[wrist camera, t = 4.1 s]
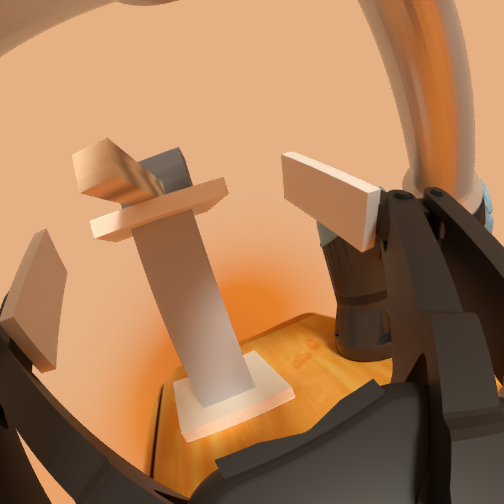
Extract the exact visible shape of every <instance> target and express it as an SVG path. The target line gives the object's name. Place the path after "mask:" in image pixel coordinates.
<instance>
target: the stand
mask: <svg viewBox="0 0 504 504" xmlns="http://www.w3.org/2000/svg"><path fill="white" fill-rule="evenodd" d="M228 194H229V192H228V189H227V186H226V183H225V180H224V178H219V179H216V180H212V181H209V182H205V183H202V184H199V185H195V186H191V187H188V188H185V189H181V190H178V191H175V192H172V193H169V194H165V195H162V196H159V197H156V198H153V199H150V200H147V201H144V202H141V203H138V204H135V205H132V206H130V207H127V208H124V209H121V210H118V211H116V212H113V213H110V214H108V215H105V216H102V217H99V218H97V219H94V220H92V221H90V224H91V228H92V231H93V235H94V238H95V239H101V240H106V241H113V242H118V241H121V240H124V239H127V238H130V237H132V236H133V237H134V240H135V243H136V246H137V249H138V253H139V255H140V258H141V262H142V264H143V267H144V270H145V273H146V276H147V279H148V281H149V284H150V287H151V290H152V292H153V295H154V298H155V300H156V303H157V306H158V308H159V311H160V313H161V316H162V318H163V321H164V323H165V326H166V328H167V330H168V333H169V335H170V337H171V340H172V342H173V344H174V347H175V349H176V351H177V353H178V356H179V358H180V360H181V362H182V365H183V367H184V369H185V371H186V373H187V375H188V377H186V378H183V379H181V380H178V381H175V382H173V386H174V393H175V400H176V407H177V413H178V419H179V425H180V430H181V434H182V435H183V437H184V439H185V440H186V442H187V443H189V442H192V441H195V440H197V439H200V438H203V437H206V436H209V435H212V434H214V433H217V432H220V431H222V430H225V429H227V428H230V427H232V426H235V425H237V424H240V423H242V422H244V421H247V420H249V419H251V418H254V417H256V416H258V415H261V414H263V413H265V412H267V411H269V410H271V409H274V408H276V407H278V406H280V405H282V404H284V403H286V402H288V401H290V400H292V399H294V398H296V397H295V394H294V391H293V388H292V386H291V385H290V384H288V383H287V382H286V381H285V380H284V379H283V378H282V377H281V376H280V375H279V374H278V373H277V372H276V371H275V370H274V369H273V368H272V367H271V366H270V365H269V364H268V363H267V362H266V361H265V360H264V359H263V358H262V357H261V356H260V355H259V354H258V353H257V352H256V351H255V350H254V351H252V352H249V353H247V354H245V355H243V354H242V351H241V349H240V346H239V343H238V341H237V338H236V336H235V333H234V330H233V327H232V325H231V322H230V319H229V317H228V314H227V311H226V308H225V305H224V303H223V300H222V297H221V294H220V291H219V289H218V286H217V283H216V280H215V278H214V274H213V271H212V269H211V266H210V263H209V260H208V257H207V254H206V251H205V248H204V245H203V242H202V239H201V236H200V233H199V229H198V226H197V223H196V220H195V217H194V216H195V215H198V214H201V213H204V212H207V211H208V210H210V209H211V208H212V207H213V206H214V205H216V204H217V203H218V202H219V201H220V200H222V199H223V198H224V197H225V196H227V195H228Z"/></svg>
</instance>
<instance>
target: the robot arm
mask: <svg viewBox="0 0 504 504" xmlns="http://www.w3.org/2000/svg"><path fill="white" fill-rule="evenodd" d="M116 1H117V2H120V3H124V4H130V5H140V6H149V5H159V4H165V3H169V2H173V1H177V0H0V57H2V56H3V55H5V54H6V53H8V52H9V51H11V50H12V49H14V48H16V47H17V46H19V45H20V44H22V43H24V42H26V41H27V40H29V39H31V38H33V37H34V36H36V35H38V34H40V33H42V32H43V31H46V30H47V29H50V28H52V27H53V26H56V25H58V24H60V23H62V22H64V21H66V20H69V19H71V18H73V17H75V16H78V15H80V14H83V13H85V12H88V11H90V10H93V9H96V8H98V7H101V6H104V5H107V4H110V3H113V2H116ZM358 2H359V4H360V6H361V8H362V10H363V13H364V15H365V17H366V19H367V22H368V24H369V26H370V29H371V31H372V34H373V36H374V38H375V41H376V44H377V46H378V49H379V52H380V54H381V57H382V60H383V63H384V65H385V69H386V72H387V75H388V78H389V81H390V84H391V88H392V91H393V94H394V98H395V101H396V105H397V109H398V113H399V117H400V121H401V125H402V129H403V134H404V138H405V143H406V148H407V153H408V158H409V164H410V168H409V169H408V171H407V172H406V174H405V176H404V179H403V183H402V185H403V190H391V191H389V192H386V191H385V190H384V189H383V188H382V187H378V188H377V187H375V186H373V185H371V184H369V183H367V182H364V181H362V180H360V179H358V178H356V177H354V176H351V175H349V174H347V173H344V172H342V171H339V170H338V169H335V168H333V167H330V166H328V165H326V164H323V163H321V162H318V161H316V160H313V159H311V158H308V157H306V156H303V155H300V154H298V153H295V152H288V153H284V154H281V158H282V171H283V184H284V198H285V199H286V200H288V201H289V202H291V203H292V204H294V205H295V206H297V207H298V208H300V209H301V210H303V211H304V212H305V213H307V214H308V215H310V216H311V217H313V218H314V219H316V220H317V229H318V233H319V237H320V242H321V243H320V246H321V247H322V249H323V252H324V256H325V260H326V263H327V267H328V270H329V274H330V278H331V281H332V285H333V289H334V293H335V296H336V301H337V314H336V324H335V333H334V338H335V343H336V347H337V350H338V352H339V353H340V354H341V355H342V356H344V357H345V358H348V359H351V360H355V361H377V360H383V359H387V358H390V357H392V361H393V373H392V378H391V383H390V384H386V385H382V386H379V385H378V383H377V382H376V381H375V380H374V379H372V380H371V381H369V382H368V383H366V384H365V385H363V386H362V387H360V388H359V389H357V390H356V391H354V392H353V393H351V394H349V395H348V396H346V397H345V398H343V399H341V400H340V401H339V402H338V403H337V404H336V405H335V406H334V407H333V408H332V409H331V410H330V411H329V412H328V413H327V414H326V415H325V416H324V417H323V418H322V419H321V420H320V421H319V422H318V423H317V424H315V425H314V426H313V427H312V428H311V429H310V430H308V431H307V432H305V433H301V434H297V435H293V436H289V437H285V438H281V439H276V440H271V441H267V442H261V443H257V444H255V445H252V446H250V447H248V448H245V449H243V450H240V451H238V452H235V453H233V454H230V455H228V456H225V457H222V458H219V459H217V460H215V462H216V464H217V466H218V468H219V469H217V470H216V471H214V472H213V473H212V474H210V475H209V476H208V477H207V478H206V479H204V481H203V482H202V483H201V484H200V485H199V486H198V487H197V488H196V490H195V491H194V493H193V494H192V496H191V498H190V499H189V498H187V497H185V496H183V495H181V494H179V493H177V492H175V491H173V490H171V489H169V488H167V487H165V486H164V485H162V484H160V483H158V482H157V481H155V480H154V479H152V478H151V477H149V476H147V475H146V474H144V473H143V472H141V471H140V470H139V469H137V468H136V467H134V466H133V465H131V464H130V463H129V462H127V461H126V460H125V459H123V458H122V457H120V456H119V455H118V454H116V453H115V452H114V451H113V450H111V449H110V448H109V447H108V446H107V445H105V444H104V443H103V442H102V441H100V440H99V439H98V438H97V437H96V436H95V435H93V434H92V433H91V432H90V431H89V430H88V429H87V428H86V427H84V426H83V425H82V424H81V423H80V422H79V421H78V420H77V419H76V418H75V417H73V416H72V414H70V413H69V412H68V410H67V409H65V407H64V406H63V405H62V404H61V403H59V401H58V400H57V399H56V398H55V397H54V396H53V395H52V394H51V393H50V392H49V391H48V389H47V388H46V387H45V386H44V385H43V384H42V383H41V382H40V380H39V379H38V378H37V377H36V376H35V375H34V374H33V373H32V365H34V366H35V367H36V368H37V369H38V370H39V371H40V372H41V373H44V372H47V371H51V370H54V369H56V357H57V344H58V333H59V323H60V315H61V307H62V300H63V294H64V288H65V282H66V276H67V271H66V269H65V267H64V265H63V263H62V261H61V259H60V257H59V255H58V253H57V251H56V249H55V247H54V244H53V242H52V240H51V238H50V236H49V234H48V231H47V229H44V230H42V231H40V232H38V233H35V234H34V237H33V238H32V240H31V242H30V244H29V247H28V249H27V251H26V253H25V255H24V257H23V259H22V262H21V264H20V266H19V269H18V271H17V273H16V275H15V278H14V281H13V283H12V285H11V288H10V291H9V292H8V294H7V295H6V296H5V298H4V300H3V303H2V306H1V308H0V504H52V503H51V501H50V500H49V498H48V496H47V495H46V493H45V491H44V489H43V487H42V486H41V484H40V482H39V480H38V478H37V476H36V474H35V472H34V470H33V468H32V466H31V464H30V462H29V460H28V457H27V455H26V453H25V450H24V448H23V446H22V443H21V441H20V438H19V436H18V433H17V431H18V432H19V434H20V435H21V437H22V438H23V440H24V441H25V442H26V444H27V445H28V446H29V448H30V449H31V451H32V452H33V453H34V455H35V456H36V457H37V458H38V460H39V461H40V462H41V463H42V465H43V466H44V467H45V468H46V470H47V471H48V472H49V473H50V474H51V475H52V477H53V478H54V479H55V480H56V481H57V482H58V483H59V484H60V485H61V487H62V488H63V489H64V490H65V491H66V492H67V493H68V494H69V495H70V496H71V497H72V498H73V499H74V501H75V502H76V504H504V247H503V246H502V245H501V244H500V243H499V242H498V241H497V239H496V238H495V237H494V236H493V235H492V229H493V218H492V215H491V212H492V211H493V209H492V203H491V199H490V196H489V193H488V190H487V188H486V186H485V184H484V183H483V182H482V180H481V179H480V178H479V176H478V175H477V173H476V172H475V171H474V163H475V123H474V106H473V93H472V84H471V75H470V68H469V62H468V57H467V50H466V45H465V41H464V36H463V31H462V27H461V23H460V19H459V16H458V12H457V9H456V5H455V2H454V0H358ZM494 374H495V376H496V378H497V379H498V380H499V382H500V383H501V385H502V386H503V387H502V388H501V389H500V391H499V395H498V391H497V386H496V381H495V376H494ZM498 396H499V397H498ZM16 429H17V431H16Z"/></svg>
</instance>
